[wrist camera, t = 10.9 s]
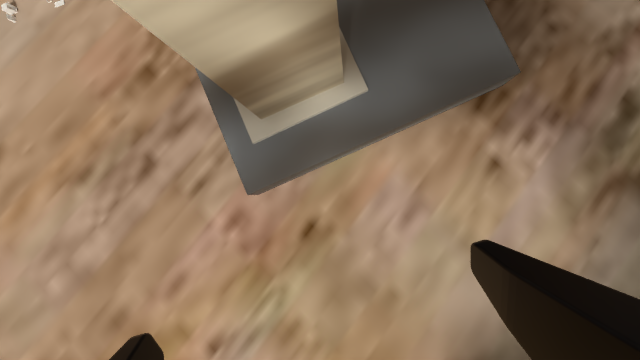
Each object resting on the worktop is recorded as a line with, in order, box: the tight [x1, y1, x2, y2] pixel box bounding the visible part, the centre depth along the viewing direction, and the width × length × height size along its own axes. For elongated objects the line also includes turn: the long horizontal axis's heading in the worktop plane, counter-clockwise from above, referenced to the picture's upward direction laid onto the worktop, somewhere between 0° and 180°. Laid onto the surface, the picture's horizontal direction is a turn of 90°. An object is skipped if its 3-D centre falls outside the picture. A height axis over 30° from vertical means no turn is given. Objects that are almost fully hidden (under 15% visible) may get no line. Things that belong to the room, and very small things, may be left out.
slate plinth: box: [195, 0, 521, 195], centre depth 18 cm, size 12×16×2 cm
